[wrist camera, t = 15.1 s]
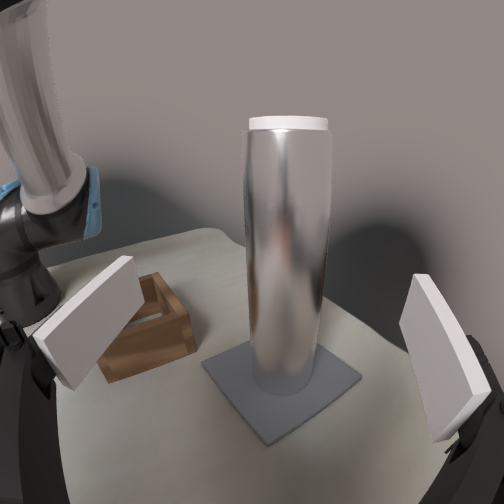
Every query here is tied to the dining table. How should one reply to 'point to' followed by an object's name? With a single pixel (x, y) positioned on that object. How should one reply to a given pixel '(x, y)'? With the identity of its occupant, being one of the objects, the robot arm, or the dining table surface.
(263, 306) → the shiny metal cylinder
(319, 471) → the dining table surface
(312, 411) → the mat
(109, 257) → the dining table surface
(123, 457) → the dining table surface
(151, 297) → the square wooden frame
